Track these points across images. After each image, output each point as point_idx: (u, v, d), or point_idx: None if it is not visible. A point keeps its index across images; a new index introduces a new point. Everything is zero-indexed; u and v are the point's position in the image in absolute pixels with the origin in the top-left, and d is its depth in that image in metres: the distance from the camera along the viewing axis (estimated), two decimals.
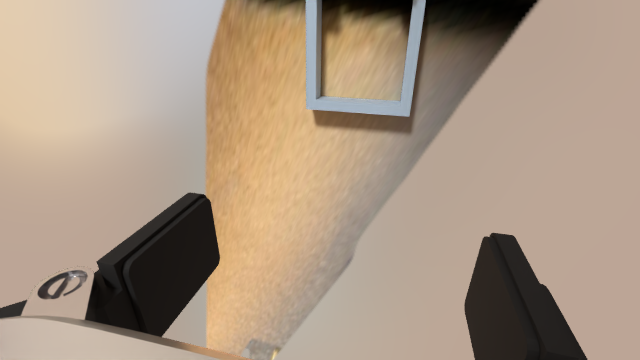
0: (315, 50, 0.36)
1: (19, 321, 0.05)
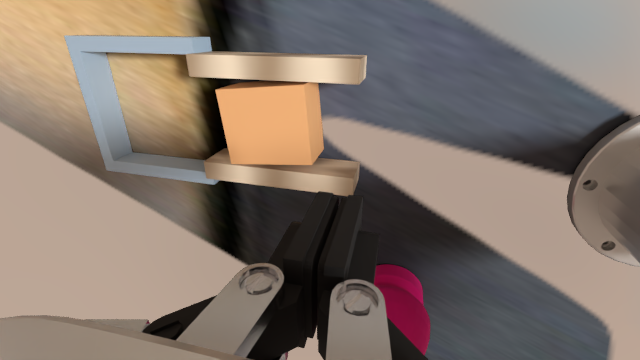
0: (135, 51, 0.25)
1: (19, 321, 0.05)
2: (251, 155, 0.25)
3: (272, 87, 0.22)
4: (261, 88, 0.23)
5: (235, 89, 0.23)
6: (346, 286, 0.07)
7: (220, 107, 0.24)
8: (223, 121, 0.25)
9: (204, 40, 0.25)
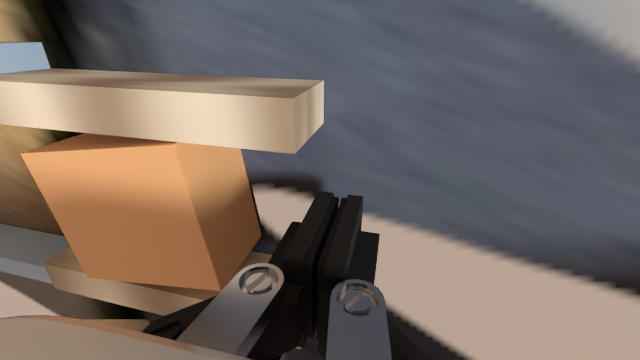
0: None
1: (19, 321, 0.05)
2: (115, 267, 0.13)
3: (116, 149, 0.11)
4: (96, 151, 0.11)
5: (53, 153, 0.11)
6: (346, 286, 0.07)
7: (39, 185, 0.12)
8: (53, 207, 0.13)
9: (23, 49, 0.13)
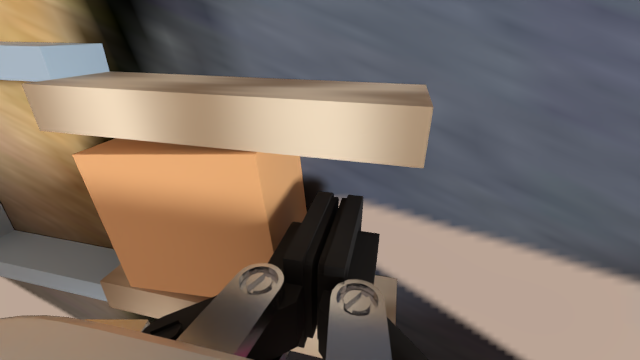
0: None
1: (19, 321, 0.05)
2: (164, 277, 0.13)
3: (186, 156, 0.10)
4: (163, 157, 0.10)
5: (111, 156, 0.10)
6: (346, 286, 0.07)
7: (89, 188, 0.11)
8: (101, 212, 0.12)
9: (85, 51, 0.12)
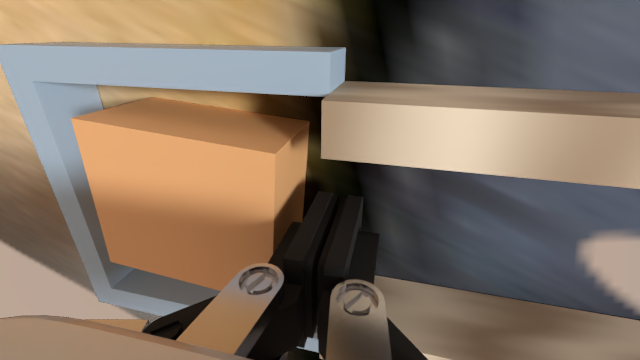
0: (166, 84, 0.10)
1: (19, 321, 0.05)
2: (150, 258, 0.12)
3: (201, 142, 0.09)
4: (175, 139, 0.09)
5: (116, 127, 0.10)
6: (346, 286, 0.07)
7: (84, 156, 0.11)
8: (91, 183, 0.11)
9: (341, 57, 0.10)
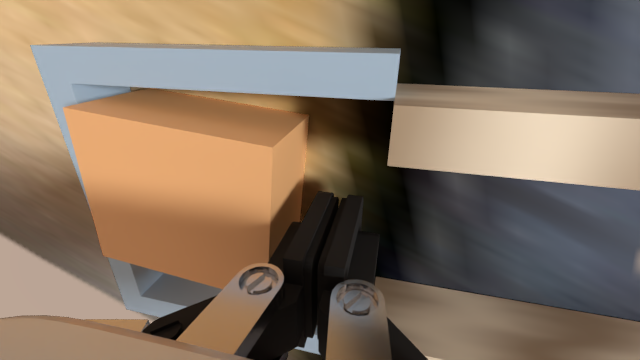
0: (215, 87, 0.10)
1: (19, 321, 0.05)
2: (143, 253, 0.12)
3: (196, 134, 0.09)
4: (169, 130, 0.09)
5: (109, 118, 0.10)
6: (346, 286, 0.07)
7: (76, 147, 0.10)
8: (84, 174, 0.11)
9: (399, 59, 0.10)
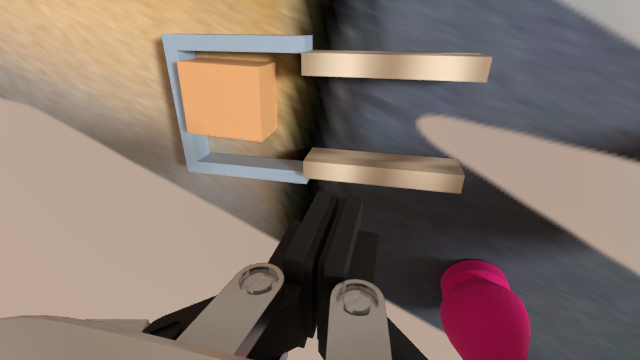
0: (238, 50, 0.25)
1: (19, 321, 0.05)
2: (207, 127, 0.27)
3: (230, 66, 0.24)
4: (220, 65, 0.24)
5: (195, 63, 0.25)
6: (346, 286, 0.07)
7: (180, 78, 0.26)
8: (182, 91, 0.26)
9: (309, 39, 0.25)
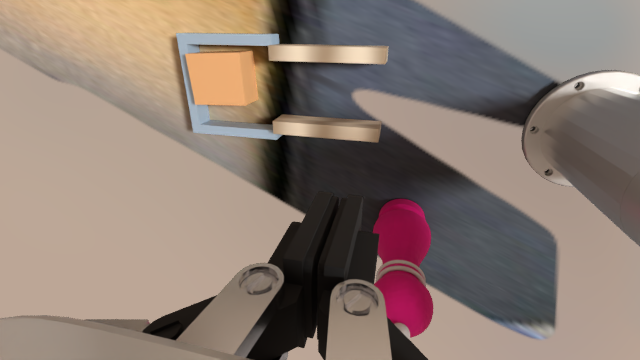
0: (228, 44, 0.37)
1: (19, 321, 0.05)
2: (208, 98, 0.39)
3: (220, 53, 0.36)
4: (213, 54, 0.36)
5: (197, 54, 0.37)
6: (346, 286, 0.07)
7: (188, 65, 0.38)
8: (189, 75, 0.38)
9: (276, 36, 0.37)
